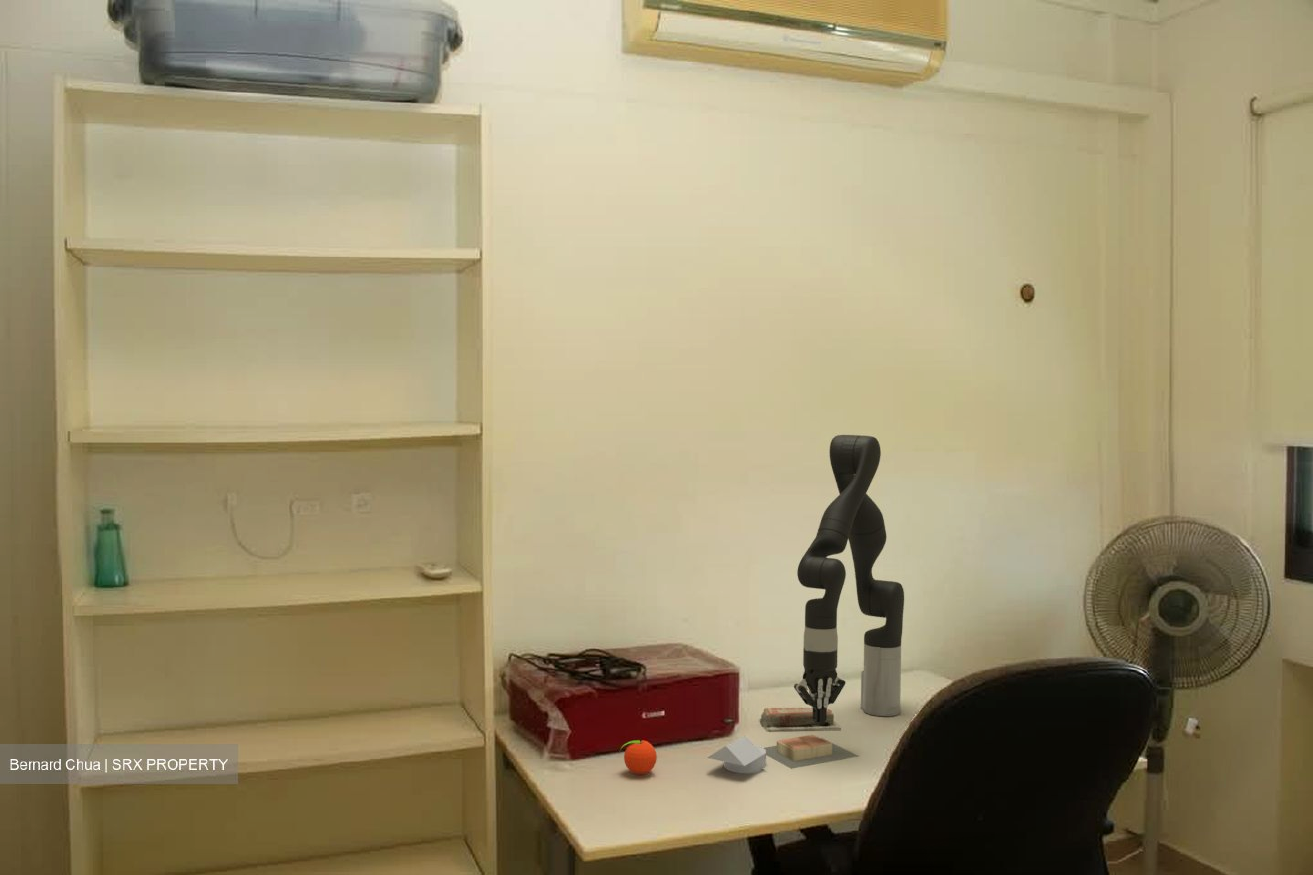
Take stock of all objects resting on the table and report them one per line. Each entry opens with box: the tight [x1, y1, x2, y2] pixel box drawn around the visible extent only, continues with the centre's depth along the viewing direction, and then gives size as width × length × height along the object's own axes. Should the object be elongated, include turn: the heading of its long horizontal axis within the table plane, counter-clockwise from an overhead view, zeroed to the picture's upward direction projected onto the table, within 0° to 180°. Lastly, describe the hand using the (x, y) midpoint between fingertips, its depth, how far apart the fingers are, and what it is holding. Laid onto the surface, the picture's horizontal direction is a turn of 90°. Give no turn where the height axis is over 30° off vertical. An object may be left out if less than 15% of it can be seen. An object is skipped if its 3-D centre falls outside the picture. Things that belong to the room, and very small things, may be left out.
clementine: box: [619, 739, 658, 775], centre depth 232 cm, size 8×7×7 cm
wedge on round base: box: [707, 735, 767, 774], centre depth 235 cm, size 9×7×13 cm
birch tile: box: [776, 734, 833, 761], centre depth 244 cm, size 7×3×10 cm
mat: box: [763, 737, 859, 769], centre depth 244 cm, size 14×18×1 cm
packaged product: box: [759, 707, 842, 733], centre depth 264 cm, size 18×5×10 cm
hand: (819, 723), depth 245 cm, fingers closed
